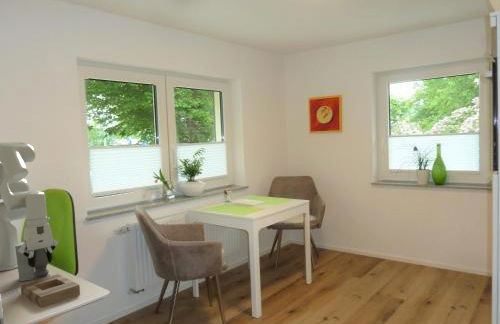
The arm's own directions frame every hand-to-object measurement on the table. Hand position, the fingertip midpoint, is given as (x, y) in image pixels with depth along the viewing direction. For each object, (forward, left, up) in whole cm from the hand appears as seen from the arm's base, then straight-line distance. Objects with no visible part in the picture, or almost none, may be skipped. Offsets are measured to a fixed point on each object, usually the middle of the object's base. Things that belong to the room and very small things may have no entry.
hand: (40, 263), depth 161 cm
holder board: (+15, -3, -9) cm, 17 cm away
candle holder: (0, 0, -9) cm, 9 cm away
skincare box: (-13, 0, -9) cm, 16 cm away
